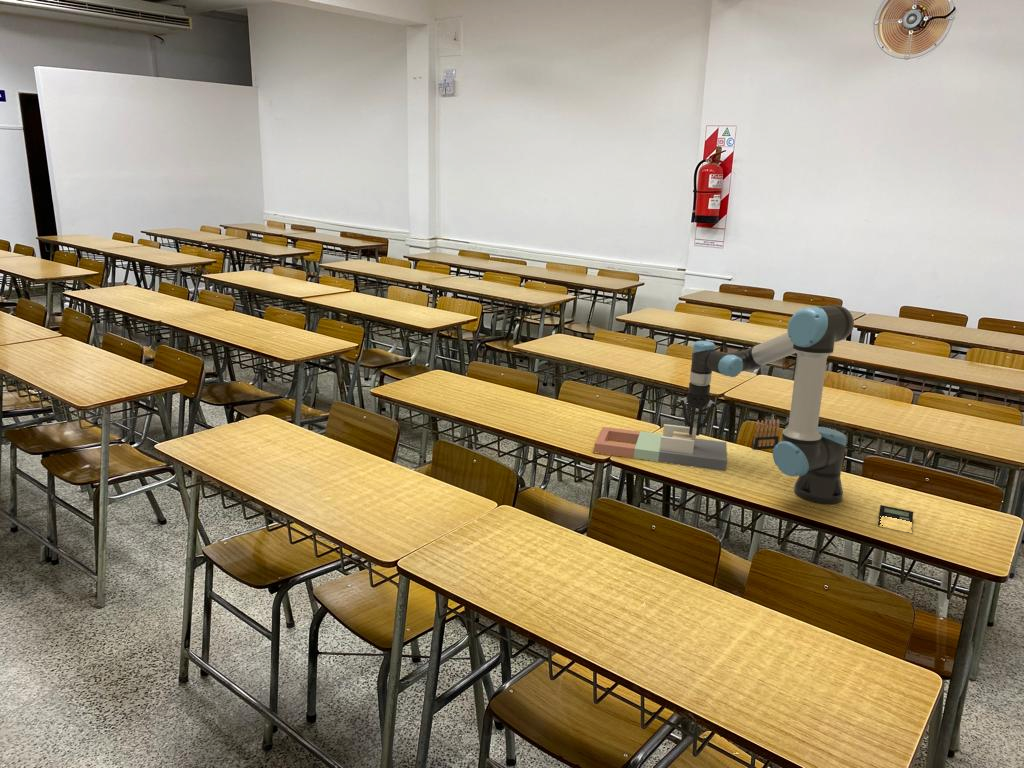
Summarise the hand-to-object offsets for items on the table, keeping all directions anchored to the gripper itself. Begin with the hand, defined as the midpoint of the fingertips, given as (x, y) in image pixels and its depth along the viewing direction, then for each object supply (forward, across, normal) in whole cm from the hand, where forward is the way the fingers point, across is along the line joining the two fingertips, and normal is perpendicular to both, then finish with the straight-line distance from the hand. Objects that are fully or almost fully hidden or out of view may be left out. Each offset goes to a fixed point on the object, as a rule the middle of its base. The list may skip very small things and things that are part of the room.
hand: (693, 443), depth 269 cm
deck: (+6, +12, 0) cm, 13 cm away
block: (+2, +4, 0) cm, 4 cm away
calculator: (+6, -63, +34) cm, 72 cm away
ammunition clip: (+6, -27, -20) cm, 34 cm away
